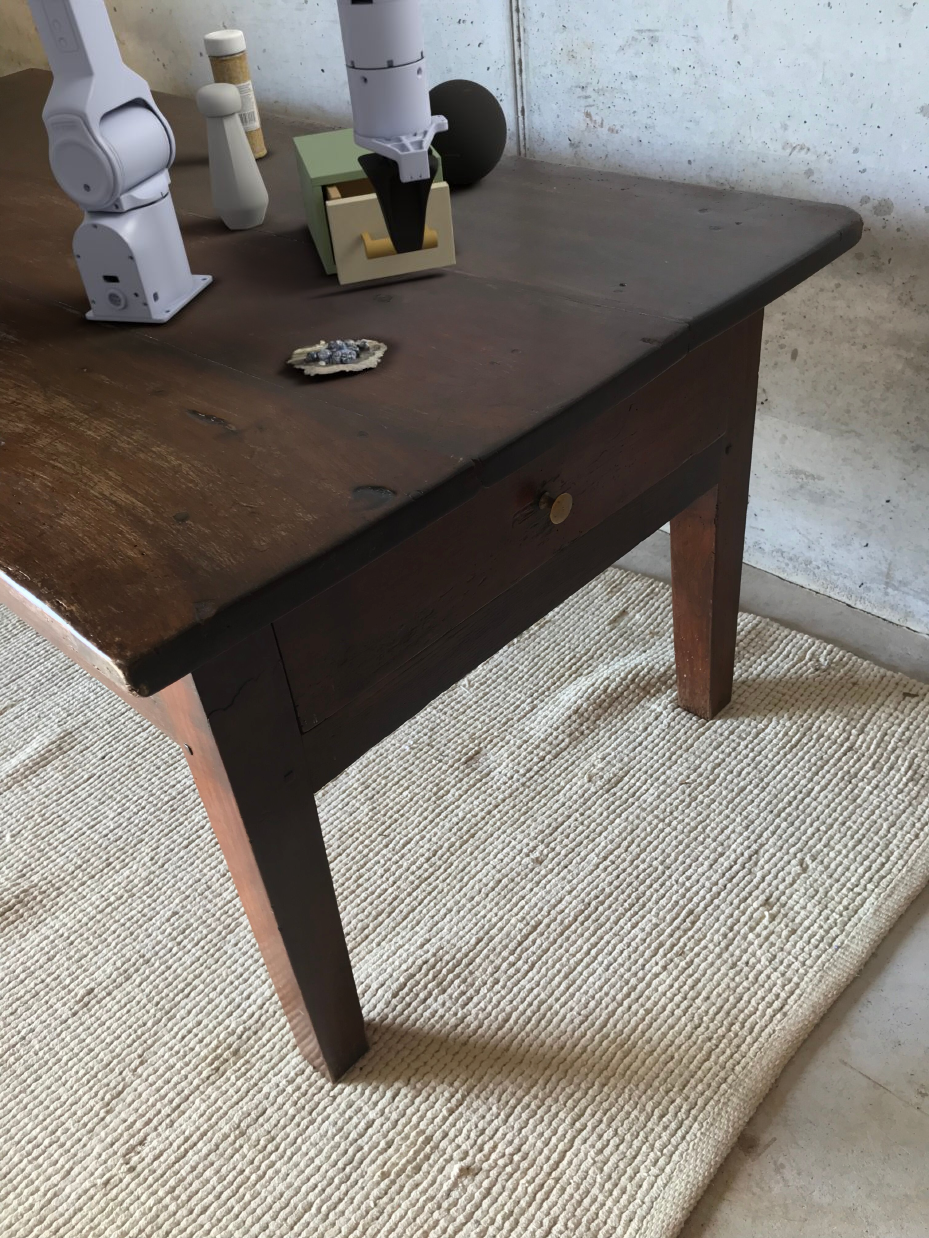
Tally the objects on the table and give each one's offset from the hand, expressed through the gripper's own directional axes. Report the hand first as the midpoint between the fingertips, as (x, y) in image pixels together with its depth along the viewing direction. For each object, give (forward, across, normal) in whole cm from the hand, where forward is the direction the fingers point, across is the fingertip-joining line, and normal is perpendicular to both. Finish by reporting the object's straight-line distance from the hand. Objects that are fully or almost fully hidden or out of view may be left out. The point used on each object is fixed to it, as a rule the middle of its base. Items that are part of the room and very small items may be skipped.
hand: (408, 249), depth 82 cm
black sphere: (+6, +32, -12) cm, 34 cm away
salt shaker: (+6, +30, +12) cm, 33 cm away
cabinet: (+6, +19, 0) cm, 20 cm away
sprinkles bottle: (+6, +54, +10) cm, 56 cm away
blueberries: (+6, -6, +7) cm, 11 cm away
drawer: (+5, +11, 0) cm, 12 cm away
